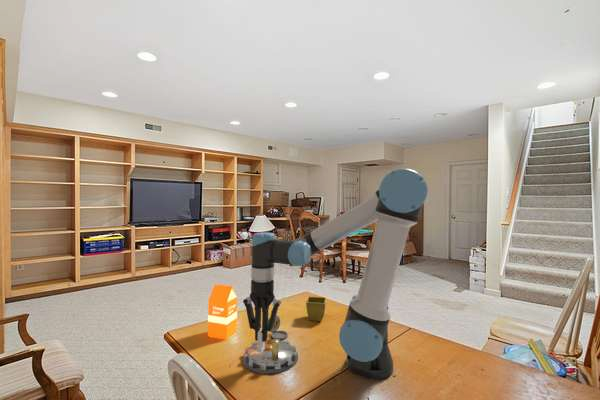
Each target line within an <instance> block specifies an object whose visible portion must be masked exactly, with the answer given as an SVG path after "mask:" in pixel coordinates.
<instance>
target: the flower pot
mask: <svg viewBox="0 0 600 400" xmlns="http://www.w3.org/2000/svg"><path fill="white" fill-rule="evenodd" d="M326 303H327V298H326V296H322V297H321V296H307V298H306V301H305V304H306V306H305V307H306V314H307V316H308V319H309V320H310V321H315V322H322V320H323V319H324V316H325V311H326Z"/></svg>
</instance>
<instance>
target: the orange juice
mask: <svg viewBox="0 0 600 400" xmlns="http://www.w3.org/2000/svg"><path fill="white" fill-rule="evenodd" d="M207 305H208V308H207V311H208V312H207V313H208V315H207V337H208V336H209V338H214V339H221V340H226V341H227V340H229V339H230V338H231V337H232V336H233V335H235V334H236V333H237V330H238V328H237V327H238V326H237V325H238V296H237V294H236V291H235V289H234V287H233V285H226V284H225V285H223V284H215V283H214V285H213V288H212V290H211V293H210V295H209V299H208V304H207Z"/></svg>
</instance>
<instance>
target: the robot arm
mask: <svg viewBox="0 0 600 400" xmlns="http://www.w3.org/2000/svg"><path fill="white" fill-rule="evenodd" d="M427 196H428V185H427V182H426V179H425V177H423V176H422V175H421V174H420V173H419V172H417V171H415V170H413V169H410V168H396V169H394V170H392V171H390V172H388V173H387V174H386V175H385V176H384V177H383V179H382V180H381V181H380V184H379V188H378V190H376V191H374V194H373V196H371V197H370V198H368V199H367V200H364V201H363V202H362V203H360V204H358V205H356V206H354V207H352V208H351V209H349V210H347V211H345V212H344V213H342V214H340V215H338V216H336V217H334V218H333V219H331V220H329V221H328V222H326V223H324V224H322V225H321V226H319V227H316V228H315V229H313V230H312V231H310V232H308V233H306V234H305V235H302V236H301V237H298V238H293V239H291V240H283V239H276V236H275V235H276V234H275V233H273V232H269V231H267V232H265V231H264V232H263V231H261V232H256V233H254V234H252V239H251V269H250V270H251V273H250V278H251V281H250V293H249V296H247V297H245V298H244V299H243V300H242V302H243V305H244V306H245V310H246V314H247V319H248V321H247V322H248V324H249V329H251V330H253V331H255V333H254V340H255V342H257V352H260V353H262V351H263V350H264V349H265V341H266V340H268V332H270V331H271V329H272V328H273V326H274V322H275V318H276V315H277V313H278V310H279V307H280V305H281V304H282V301H281V300H278V299H276V297H275V294H274V291H275V290H274V287H275V285H274V284H275V281H274V278H275V275H274V274H275V264H282V265H290V266H295V267H296V266H297V267H298V266H300V267H301V266H302V267H303V266H306V265H308V263H309V262H310V259H311V257H312V256H314V255H315V254H317V253H319V252H320V251H323V250H324V249H326V248H328V247H330V246H332V245H334V244H336V243H337V242H340V241H341V240H343V239H345V238H347V237H350V236H351V235H353V234H355V233H357V232H358V231H360V230H362V229H364V228H366V227H367V226H370V225H371V224H374V223H376V222H377V225H376V228H375V231H374V234H373V238H372V242H371V246H370V249H369V252H368V256H367V260H366V264H365V267H364V271H363V274H362V277H361V281H360V285H359V288H358V292H357V294H354V295H353V296H352V299H351V300H350V302H349V305H348V308H347V312H346V315H345V318H344V322H343V324H342V325H341V327H340V328H339V334H338V338H339V344H340V347H341V348H342V349H343V351H344V352H345V354H346V366H347V369H348V370H349V371H350V372H352V373H353V374H355V375H356V376H358V377H361V378H365V379H371V380H381V379H386V378H388V377H390V376H391V375H392V374H393V372H394V360H393V357H392V354H391V350H390V347H389V334H388V333H389V330H388V329H389V322H390V319H391V313H390V312H389V302H390V299H391V295H392V291H393V288H394V284H395V281H396V277H397V273H398V271H399V267H400V263H401V261H402V260H401V259H402V257H403V253H404V250H405V246H406V242H407V239H408V236H409V232H410V230H411V227H413V226H415V225H417V224H418V222H419V219H420V216H421V213H422V208H423V205H424V203H425V201H426V199H427ZM271 304H272V309H271V311H272V312H271V311H270V312H271V313H270V316H269V309H270V305H271ZM253 306H254V308H253ZM269 318H270V320H269ZM268 320H269V324H268Z"/></svg>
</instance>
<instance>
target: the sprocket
mask: <svg viewBox="0 0 600 400" xmlns="http://www.w3.org/2000/svg"><path fill="white" fill-rule="evenodd" d="M257 342H258V341H253V342H252V343H251V345H250V347H248V346H246V347H245V349H244V354H243V356H244V360H245V361H249V366H251V367H252V368H253V367H254V366H256V367H259V368H260V370H266V369H271V368H274V369H275V370H278V369H280V368H281V367H282V366H284V365H287V366H289V365H290V364H292V359H296V357H297V354H298V352H297V347H296V346H295V345H292V344H290V343H291V341H288V340H284V341H283V340H279V339H267V340H266V341H265V349H264V350H263V351H262V353H260V352H257Z"/></svg>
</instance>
